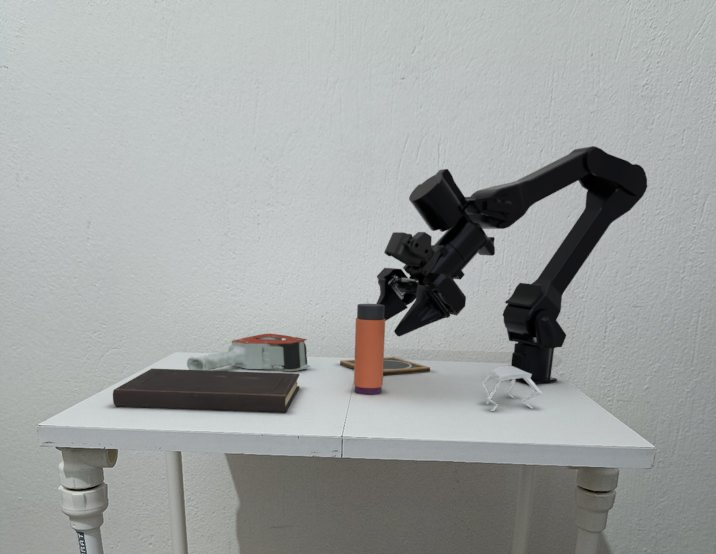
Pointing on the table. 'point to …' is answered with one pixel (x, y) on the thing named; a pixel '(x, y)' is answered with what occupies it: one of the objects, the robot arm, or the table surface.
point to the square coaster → (393, 366)
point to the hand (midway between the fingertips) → (382, 330)
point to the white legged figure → (509, 374)
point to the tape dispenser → (257, 354)
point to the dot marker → (369, 348)
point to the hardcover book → (209, 390)
